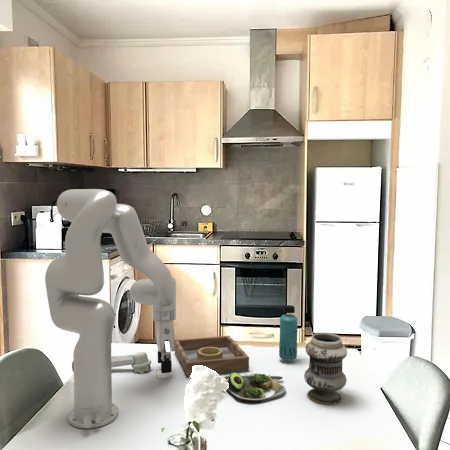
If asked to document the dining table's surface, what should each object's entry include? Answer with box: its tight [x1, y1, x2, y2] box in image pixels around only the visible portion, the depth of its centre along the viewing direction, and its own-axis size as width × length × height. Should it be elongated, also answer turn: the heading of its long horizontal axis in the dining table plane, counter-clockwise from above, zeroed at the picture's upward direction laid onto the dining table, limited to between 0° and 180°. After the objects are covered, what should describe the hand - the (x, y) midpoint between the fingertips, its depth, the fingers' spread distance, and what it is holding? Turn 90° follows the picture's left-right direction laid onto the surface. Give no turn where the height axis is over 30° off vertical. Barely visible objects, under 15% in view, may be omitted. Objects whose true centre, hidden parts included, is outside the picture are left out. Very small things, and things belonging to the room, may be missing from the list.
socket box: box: [174, 335, 250, 379], centre depth 153 cm, size 23×21×5 cm
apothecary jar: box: [303, 332, 348, 405], centre depth 127 cm, size 12×12×18 cm
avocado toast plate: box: [223, 372, 286, 404], centre depth 133 cm, size 19×18×5 cm
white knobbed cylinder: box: [71, 351, 152, 374], centre depth 145 cm, size 5×7×25 cm
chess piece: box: [156, 349, 173, 379], centre depth 142 cm, size 5×5×10 cm
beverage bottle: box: [278, 304, 299, 361], centre depth 154 cm, size 6×7×20 cm
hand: (164, 367), depth 142 cm, fingers open, 7 cm apart
